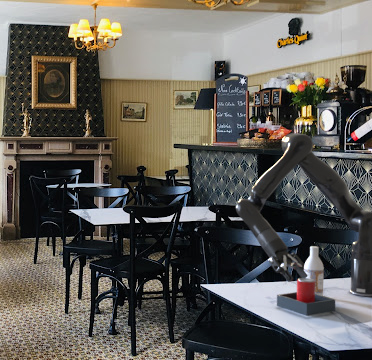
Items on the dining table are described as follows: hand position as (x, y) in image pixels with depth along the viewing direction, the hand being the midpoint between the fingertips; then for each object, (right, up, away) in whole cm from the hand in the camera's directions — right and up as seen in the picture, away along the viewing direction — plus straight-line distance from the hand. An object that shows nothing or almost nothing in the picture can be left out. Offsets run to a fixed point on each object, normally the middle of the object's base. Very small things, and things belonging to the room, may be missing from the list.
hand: (298, 279), depth 215 cm
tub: (+2, -11, -2) cm, 11 cm away
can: (+2, -10, -2) cm, 10 cm away
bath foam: (+12, -10, +16) cm, 23 cm away
